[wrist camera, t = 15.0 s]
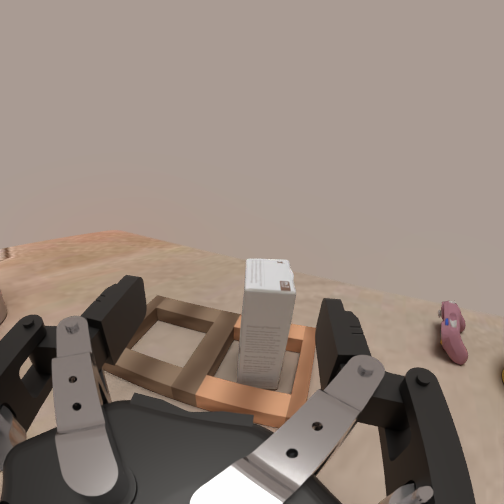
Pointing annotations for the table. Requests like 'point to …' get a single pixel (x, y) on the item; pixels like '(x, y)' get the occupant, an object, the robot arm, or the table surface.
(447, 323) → the video game controller
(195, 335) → the table surface
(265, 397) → the brown flat frame
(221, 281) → the table surface
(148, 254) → the table surface
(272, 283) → the skincare box
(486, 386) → the table surface
